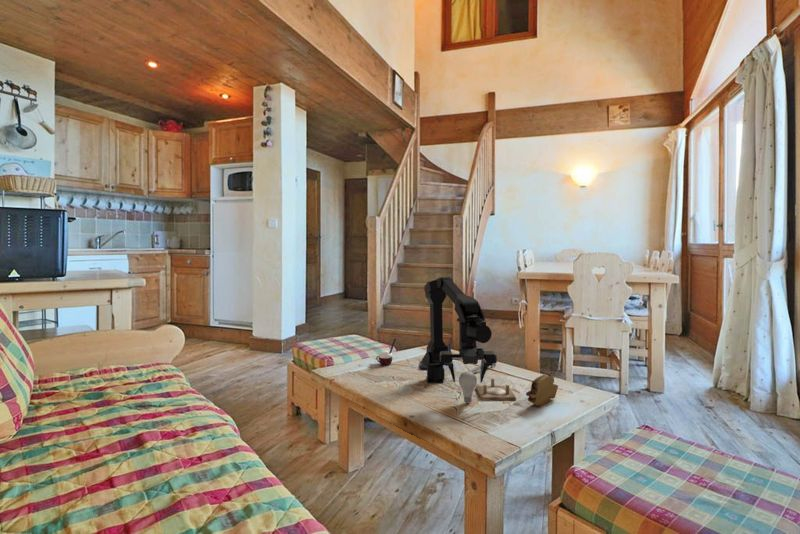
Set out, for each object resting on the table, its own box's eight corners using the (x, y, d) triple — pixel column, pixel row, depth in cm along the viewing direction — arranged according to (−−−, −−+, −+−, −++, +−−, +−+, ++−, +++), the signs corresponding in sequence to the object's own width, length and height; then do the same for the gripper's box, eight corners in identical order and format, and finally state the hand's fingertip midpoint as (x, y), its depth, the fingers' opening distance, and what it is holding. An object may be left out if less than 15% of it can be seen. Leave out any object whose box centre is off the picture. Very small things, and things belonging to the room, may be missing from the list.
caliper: (494, 366, 188) (494, 352, 188) (496, 367, 187) (496, 353, 187) (464, 376, 175) (464, 361, 174) (466, 377, 174) (466, 362, 173)
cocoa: (374, 364, 193) (372, 338, 192) (384, 361, 198) (382, 336, 197) (389, 368, 187) (387, 341, 186) (399, 364, 191) (397, 338, 191)
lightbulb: (457, 400, 148) (456, 369, 148) (474, 399, 149) (474, 368, 148) (460, 407, 142) (461, 374, 141) (478, 406, 143) (478, 374, 142)
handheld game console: (422, 360, 199) (422, 340, 199) (451, 361, 197) (451, 341, 197) (419, 370, 184) (419, 349, 183) (450, 371, 182) (450, 350, 181)
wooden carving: (546, 395, 152) (546, 368, 151) (558, 399, 149) (559, 371, 148) (523, 408, 140) (523, 379, 140) (535, 412, 137) (536, 382, 137)
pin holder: (481, 400, 148) (481, 388, 148) (476, 388, 160) (476, 377, 160) (515, 400, 148) (515, 388, 148) (508, 388, 160) (508, 377, 160)
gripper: (441, 342, 136) (441, 390, 137) (500, 342, 136) (499, 390, 137) (439, 334, 147) (439, 378, 148) (493, 334, 147) (493, 378, 148)
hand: (467, 381), depth 145 cm, fingers open, 9 cm apart
